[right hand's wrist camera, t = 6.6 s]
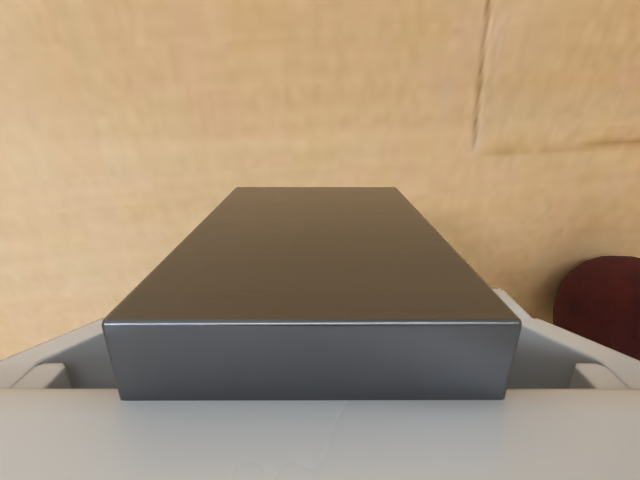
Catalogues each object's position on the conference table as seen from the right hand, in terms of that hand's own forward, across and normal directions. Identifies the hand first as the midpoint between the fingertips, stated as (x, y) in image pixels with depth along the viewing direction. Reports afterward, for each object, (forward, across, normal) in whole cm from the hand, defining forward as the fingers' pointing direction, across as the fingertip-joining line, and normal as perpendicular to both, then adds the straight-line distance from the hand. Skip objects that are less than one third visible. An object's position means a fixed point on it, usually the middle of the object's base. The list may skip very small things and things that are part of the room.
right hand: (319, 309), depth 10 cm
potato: (+13, +18, -6) cm, 23 cm away
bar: (+3, 0, -9) cm, 9 cm away
